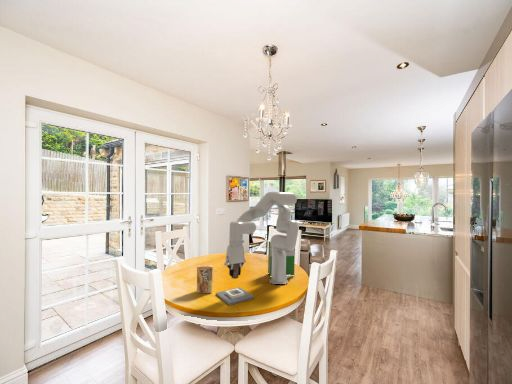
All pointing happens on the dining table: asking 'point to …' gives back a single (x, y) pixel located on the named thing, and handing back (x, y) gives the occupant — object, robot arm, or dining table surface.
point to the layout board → (234, 296)
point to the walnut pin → (235, 271)
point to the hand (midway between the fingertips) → (235, 275)
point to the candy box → (204, 278)
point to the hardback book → (289, 261)
